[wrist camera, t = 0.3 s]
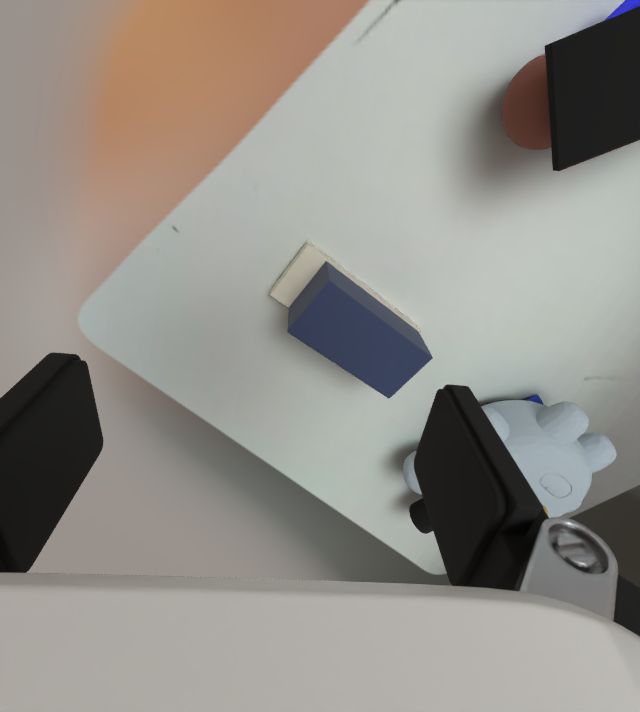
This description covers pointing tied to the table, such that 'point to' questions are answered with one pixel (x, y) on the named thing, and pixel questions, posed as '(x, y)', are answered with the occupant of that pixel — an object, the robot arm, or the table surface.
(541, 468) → the figurine
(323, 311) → the blue milk carton
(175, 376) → the table surface
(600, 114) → the figurine character
